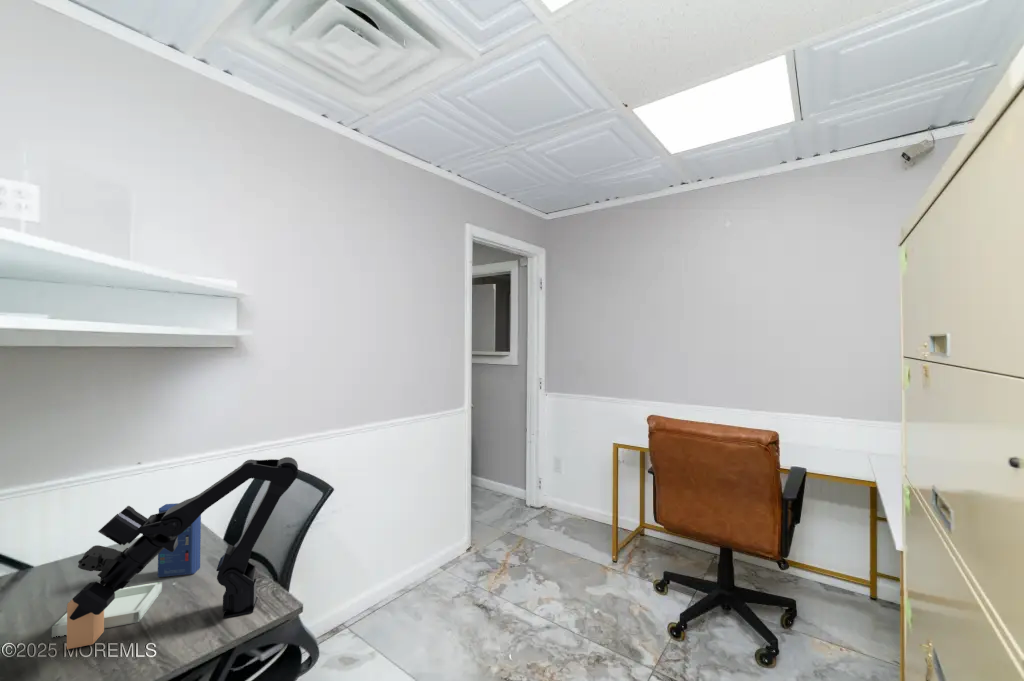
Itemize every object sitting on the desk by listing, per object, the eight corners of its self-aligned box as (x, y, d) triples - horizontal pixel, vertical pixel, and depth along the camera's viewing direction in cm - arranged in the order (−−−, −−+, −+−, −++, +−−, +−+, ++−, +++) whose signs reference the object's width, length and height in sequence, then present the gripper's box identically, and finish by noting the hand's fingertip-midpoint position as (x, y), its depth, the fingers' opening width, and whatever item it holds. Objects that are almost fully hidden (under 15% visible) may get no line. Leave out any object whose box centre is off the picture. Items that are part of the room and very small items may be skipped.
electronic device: (155, 579, 122) (156, 509, 122) (166, 569, 127) (167, 503, 127) (192, 575, 124) (193, 507, 124) (201, 566, 129) (202, 500, 129)
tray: (161, 590, 116) (162, 581, 116) (138, 622, 103) (138, 611, 103) (86, 603, 111) (86, 593, 111) (51, 638, 98) (51, 627, 98)
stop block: (103, 631, 99) (104, 588, 99) (93, 644, 95) (93, 599, 95) (78, 636, 98) (79, 592, 98) (66, 649, 93) (67, 603, 94)
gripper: (128, 518, 107) (70, 571, 103) (85, 553, 89) (13, 617, 85) (166, 544, 109) (111, 596, 105) (132, 583, 92) (65, 647, 88)
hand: (78, 612), depth 96 cm, fingers closed on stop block, 4 cm apart
